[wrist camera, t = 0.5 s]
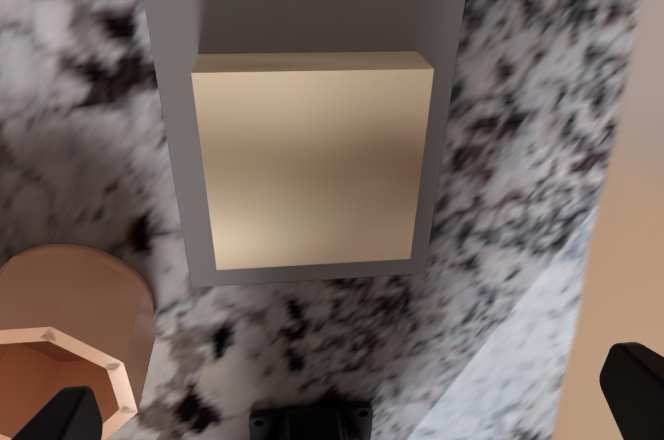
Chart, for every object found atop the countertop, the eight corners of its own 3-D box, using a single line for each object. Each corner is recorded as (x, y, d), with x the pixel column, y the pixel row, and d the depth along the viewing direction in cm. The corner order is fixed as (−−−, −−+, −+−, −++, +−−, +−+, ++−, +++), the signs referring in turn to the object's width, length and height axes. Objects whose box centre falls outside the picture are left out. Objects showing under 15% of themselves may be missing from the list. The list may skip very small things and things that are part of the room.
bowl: (165, 350, 24) (146, 442, 20) (20, 361, 23) (-29, 459, 19) (140, 238, 21) (111, 322, 17) (-31, 246, 20) (-103, 336, 16)
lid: (398, 229, 21) (410, 258, 20) (220, 238, 20) (216, 270, 19) (417, 51, 17) (433, 68, 16) (198, 54, 17) (190, 73, 15)
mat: (421, 266, 23) (424, 273, 23) (192, 279, 22) (191, 287, 22) (463, -30, 17) (469, -28, 16) (141, -32, 15) (139, -29, 15)
